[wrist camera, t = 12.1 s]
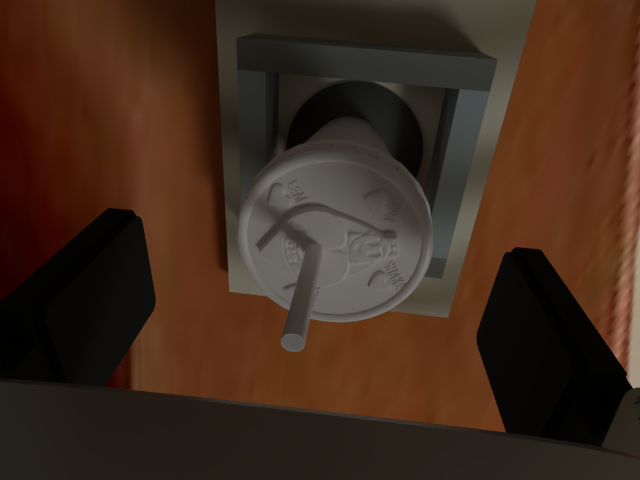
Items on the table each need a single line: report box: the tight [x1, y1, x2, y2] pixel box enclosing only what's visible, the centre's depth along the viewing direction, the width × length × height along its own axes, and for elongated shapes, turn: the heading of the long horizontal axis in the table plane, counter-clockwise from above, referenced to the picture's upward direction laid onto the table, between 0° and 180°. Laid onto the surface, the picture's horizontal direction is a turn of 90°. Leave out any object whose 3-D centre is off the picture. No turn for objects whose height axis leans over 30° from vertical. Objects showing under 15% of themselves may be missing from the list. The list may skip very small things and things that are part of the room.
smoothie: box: [236, 116, 433, 352], centre depth 16 cm, size 6×6×14 cm
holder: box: [215, 0, 537, 318], centre depth 21 cm, size 20×14×4 cm
